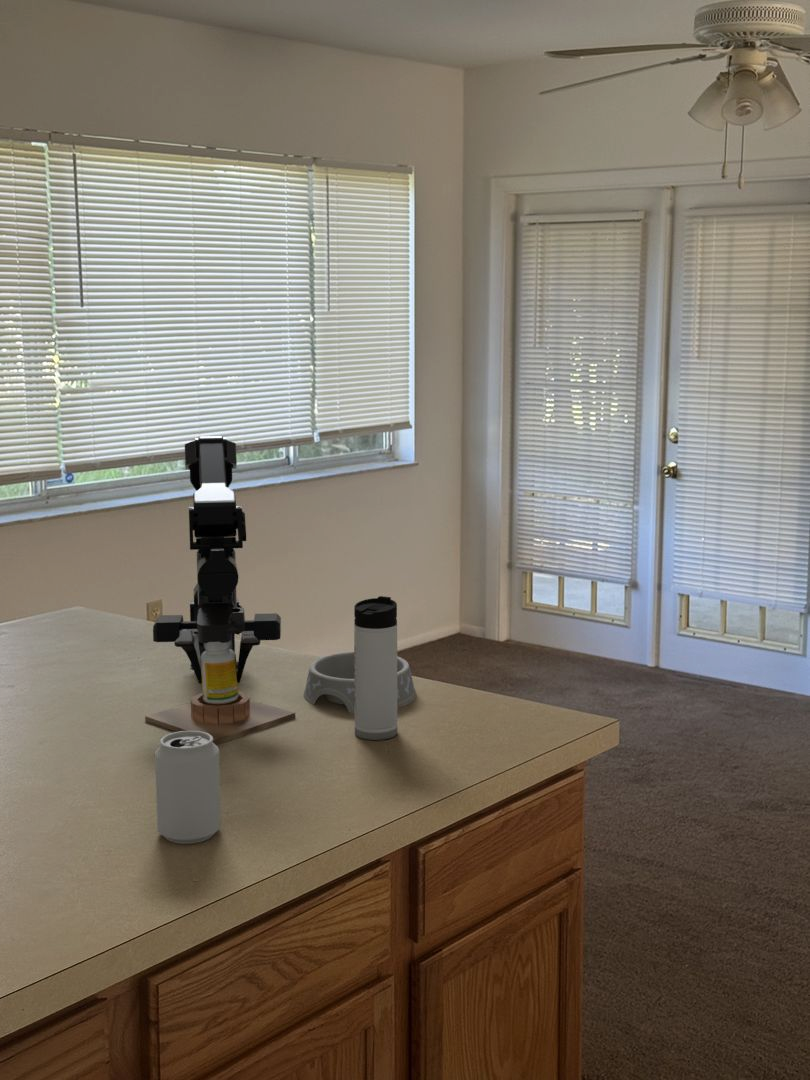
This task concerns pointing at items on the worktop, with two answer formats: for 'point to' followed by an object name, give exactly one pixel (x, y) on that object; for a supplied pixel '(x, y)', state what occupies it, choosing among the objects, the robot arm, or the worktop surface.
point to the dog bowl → (349, 681)
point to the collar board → (221, 730)
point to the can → (188, 787)
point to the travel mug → (375, 668)
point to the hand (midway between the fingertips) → (219, 682)
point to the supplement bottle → (219, 673)
